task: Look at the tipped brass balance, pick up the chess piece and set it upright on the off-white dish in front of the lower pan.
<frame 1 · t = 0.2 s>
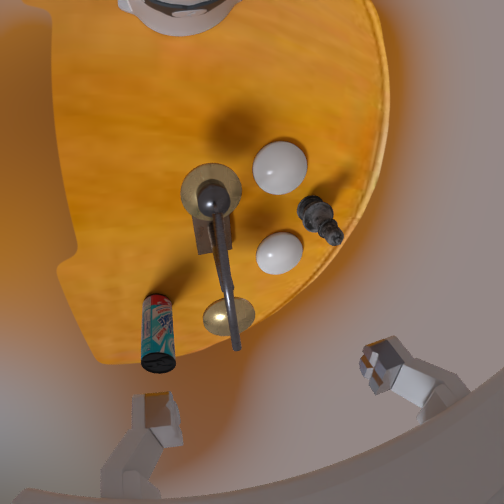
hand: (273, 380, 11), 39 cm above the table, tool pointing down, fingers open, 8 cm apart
chess piece: (310, 208, 54), on the table
dish high side: (278, 252, 58), on the table
beverage can: (157, 302, 58), on the table
balance: (211, 222, 51), on the table
dish low side: (279, 167, 48), on the table
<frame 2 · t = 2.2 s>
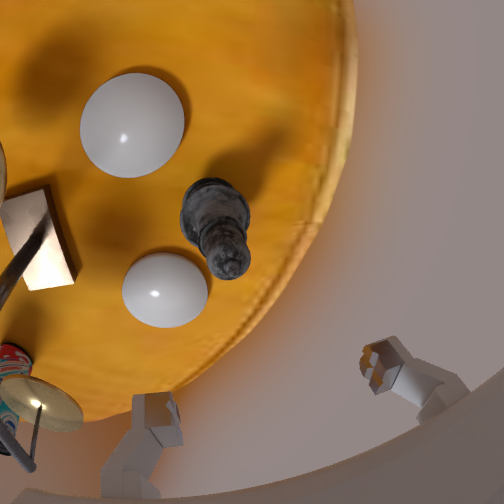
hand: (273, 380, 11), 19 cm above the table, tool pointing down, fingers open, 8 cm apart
chess piece: (210, 204, 28), on the table
dish high side: (164, 289, 31), on the table
beverage can: (16, 354, 30), on the table
balance: (38, 237, 24), on the table
dish low side: (132, 124, 22), on the table
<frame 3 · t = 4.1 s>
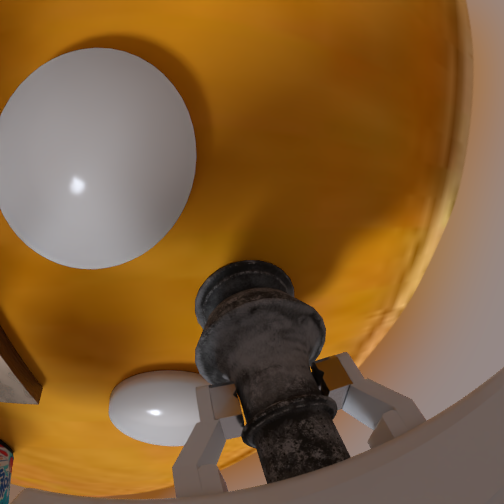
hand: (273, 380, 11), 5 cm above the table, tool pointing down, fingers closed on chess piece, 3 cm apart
chess piece: (244, 302, 16), on the table, touching gripper
dish high side: (171, 408, 19), on the table
dish low side: (87, 159, 10), on the table
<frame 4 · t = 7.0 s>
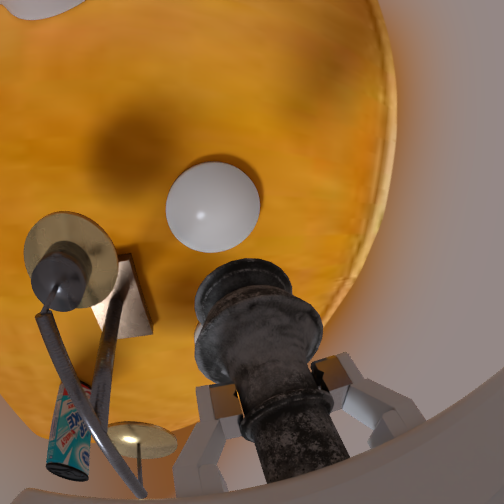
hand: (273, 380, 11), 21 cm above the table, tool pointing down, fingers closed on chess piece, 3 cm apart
chess piece: (243, 299, 16), point 15 cm above the table, touching gripper
beverage can: (77, 388, 37), on the table
balance: (117, 296, 31), on the table
dish low side: (212, 206, 29), on the table
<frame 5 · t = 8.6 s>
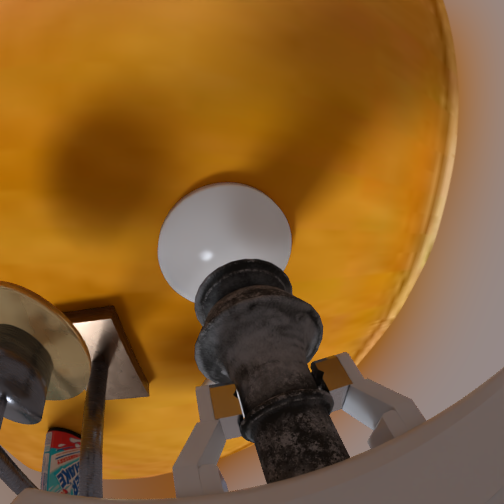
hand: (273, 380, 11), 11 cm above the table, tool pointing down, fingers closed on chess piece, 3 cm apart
chess piece: (243, 300, 16), point 6 cm above the table, touching gripper
beverage can: (67, 435, 29), on the table
balance: (101, 353, 23), on the table
dish low side: (224, 245, 21), on the table
when the fingers open (7 cm above the table, at t = 9.8 s): chess piece stays where it is, resting on dish low side.
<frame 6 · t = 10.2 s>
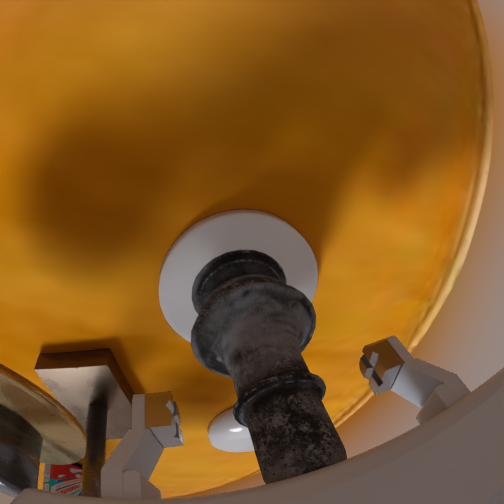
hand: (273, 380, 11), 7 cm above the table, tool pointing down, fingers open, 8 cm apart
chess piece: (239, 290, 16), point 1 cm above the table, touching dish low side
dish high side: (253, 424, 26), on the table
beverage can: (66, 463, 25), on the table
balance: (99, 394, 19), on the table
dish low side: (238, 284, 17), on the table
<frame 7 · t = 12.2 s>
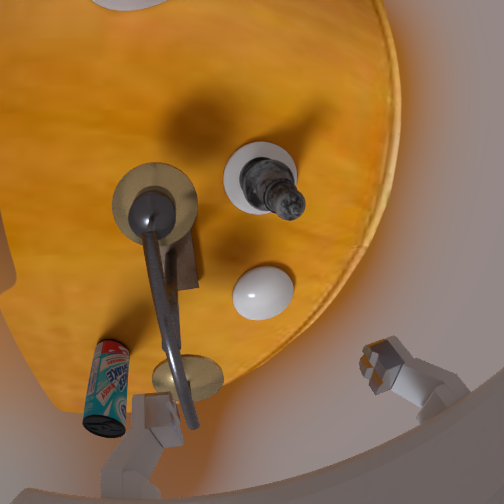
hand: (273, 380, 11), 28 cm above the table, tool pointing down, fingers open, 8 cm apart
chess piece: (260, 178, 35), point 1 cm above the table, touching dish low side
dish high side: (262, 292, 44), on the table
beverage can: (112, 349, 43), on the table
balance: (170, 252, 38), on the table
dish low side: (259, 177, 36), on the table
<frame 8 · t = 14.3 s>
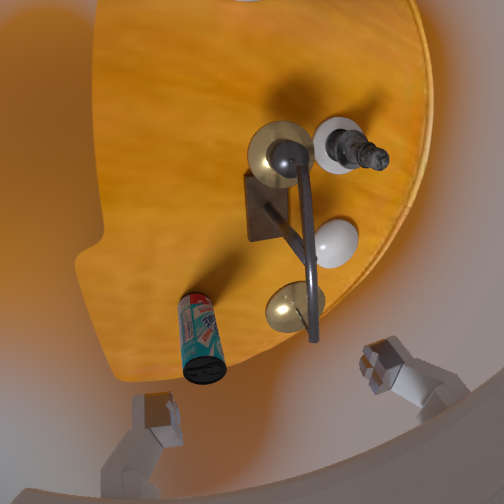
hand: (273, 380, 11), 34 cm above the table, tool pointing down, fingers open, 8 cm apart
chess piece: (339, 145, 42), point 1 cm above the table, touching dish low side
dish high side: (333, 242, 51), on the table
beverage can: (194, 304, 51), on the table
balance: (265, 204, 45), on the table
dish low side: (337, 145, 43), on the table
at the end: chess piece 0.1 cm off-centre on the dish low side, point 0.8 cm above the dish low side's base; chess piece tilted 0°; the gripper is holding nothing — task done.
